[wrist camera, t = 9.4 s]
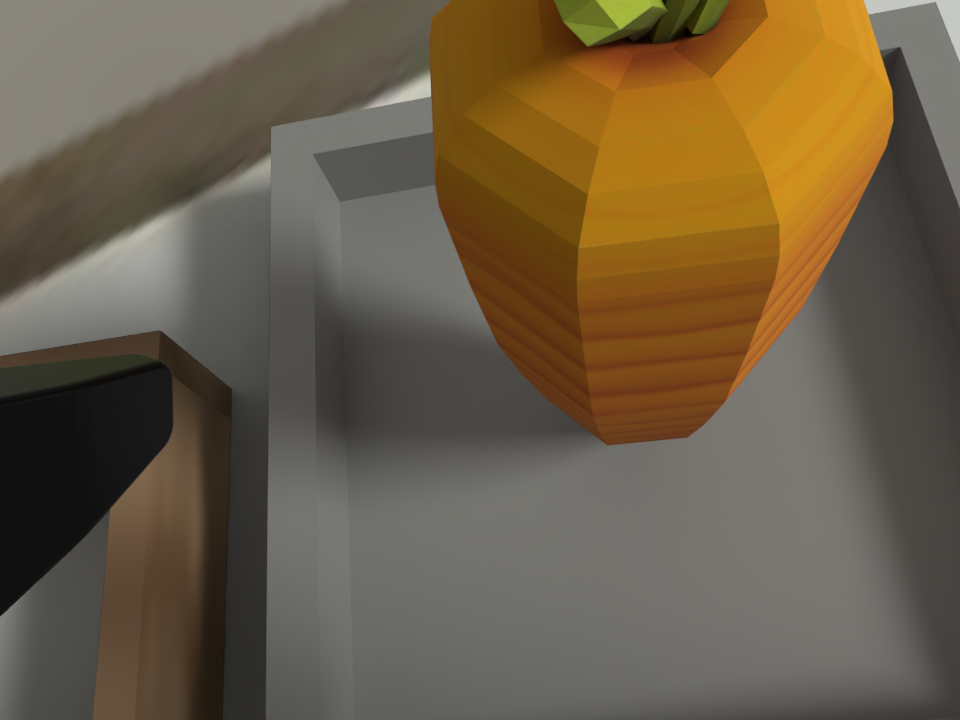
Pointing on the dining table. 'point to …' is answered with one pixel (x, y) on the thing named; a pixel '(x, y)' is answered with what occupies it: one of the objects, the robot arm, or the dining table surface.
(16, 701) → the dining table surface
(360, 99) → the dining table surface
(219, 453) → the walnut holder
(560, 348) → the carrot
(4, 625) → the dining table surface
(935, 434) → the grey tray
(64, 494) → the robot arm
